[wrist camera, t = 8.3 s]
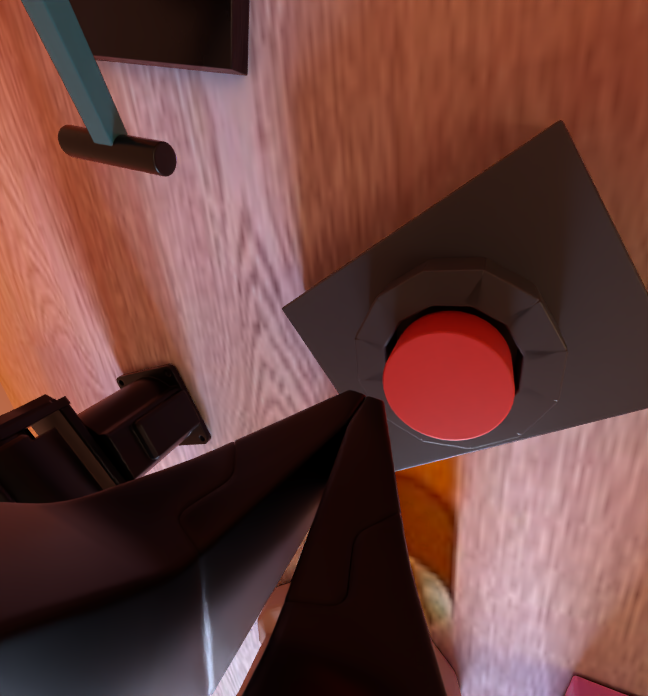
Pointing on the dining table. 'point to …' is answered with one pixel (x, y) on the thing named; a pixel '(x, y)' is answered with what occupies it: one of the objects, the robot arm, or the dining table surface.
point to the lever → (92, 97)
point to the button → (450, 376)
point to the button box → (498, 298)
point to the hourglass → (269, 620)
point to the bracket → (168, 32)
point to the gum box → (589, 689)
